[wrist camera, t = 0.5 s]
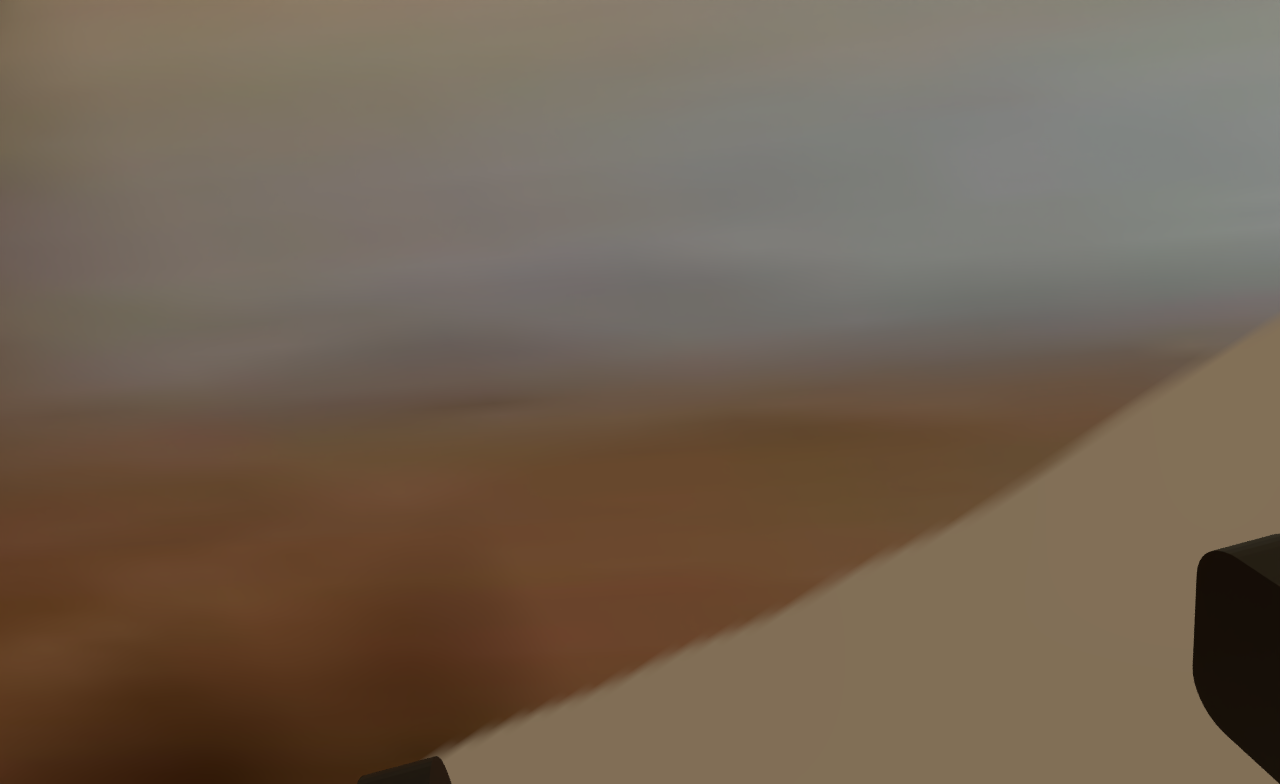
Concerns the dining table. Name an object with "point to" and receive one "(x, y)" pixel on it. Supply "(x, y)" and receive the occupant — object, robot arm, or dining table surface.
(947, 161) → the dining table surface
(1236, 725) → the robot arm
